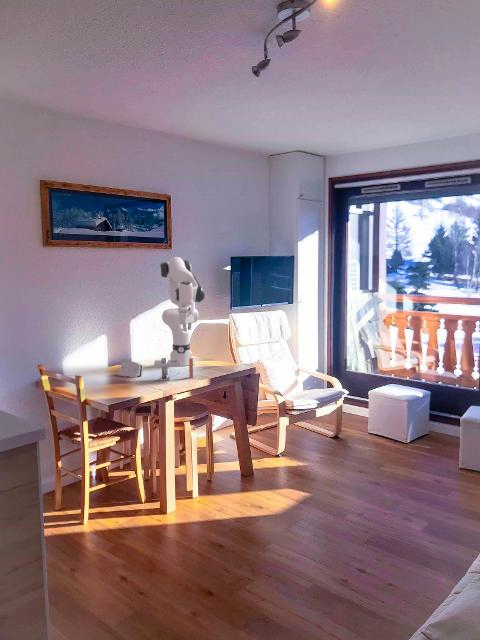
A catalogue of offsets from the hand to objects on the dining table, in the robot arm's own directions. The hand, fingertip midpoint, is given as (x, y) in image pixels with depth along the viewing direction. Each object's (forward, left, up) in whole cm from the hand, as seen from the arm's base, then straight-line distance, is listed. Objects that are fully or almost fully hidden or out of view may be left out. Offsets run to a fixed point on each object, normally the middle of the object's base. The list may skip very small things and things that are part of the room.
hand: (187, 330), depth 339 cm
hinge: (-9, -36, -29) cm, 47 cm away
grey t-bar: (+7, -13, -29) cm, 32 cm away
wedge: (+3, +2, -29) cm, 29 cm away
